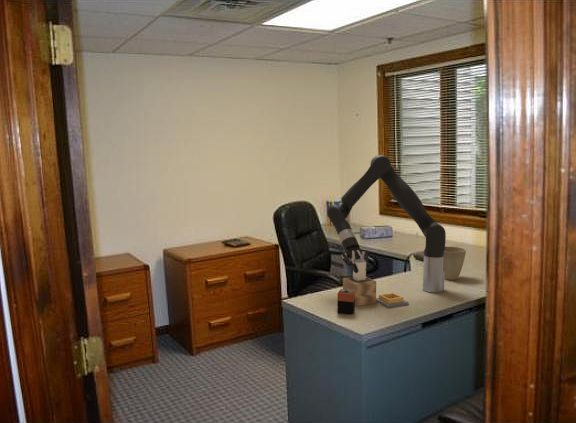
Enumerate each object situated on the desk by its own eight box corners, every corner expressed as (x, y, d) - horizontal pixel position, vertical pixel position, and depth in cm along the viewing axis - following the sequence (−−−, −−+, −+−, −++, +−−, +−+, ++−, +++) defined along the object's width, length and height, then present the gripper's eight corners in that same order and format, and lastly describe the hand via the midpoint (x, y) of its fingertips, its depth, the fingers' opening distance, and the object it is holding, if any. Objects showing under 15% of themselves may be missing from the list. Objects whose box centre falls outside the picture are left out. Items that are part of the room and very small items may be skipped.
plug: (360, 277, 225) (361, 258, 224) (365, 280, 221) (366, 260, 220) (353, 278, 223) (353, 259, 222) (357, 281, 220) (358, 261, 218)
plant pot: (452, 273, 271) (454, 245, 268) (470, 280, 257) (472, 250, 255) (429, 276, 266) (430, 247, 264) (446, 283, 252) (448, 252, 250)
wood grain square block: (363, 296, 231) (363, 274, 229) (375, 302, 221) (376, 280, 219) (342, 299, 226) (342, 276, 225) (354, 305, 216) (355, 282, 215)
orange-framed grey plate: (394, 298, 227) (394, 291, 227) (408, 304, 217) (408, 297, 217) (373, 300, 223) (374, 294, 223) (387, 308, 213) (387, 301, 213)
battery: (339, 310, 211) (339, 287, 210) (355, 311, 209) (355, 289, 207) (337, 313, 207) (337, 290, 205) (352, 315, 205) (353, 292, 203)
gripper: (337, 237, 224) (351, 269, 214) (364, 235, 229) (378, 265, 220) (332, 246, 229) (345, 277, 220) (358, 244, 235) (372, 274, 225)
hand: (361, 271), depth 220 cm, fingers closed on plug, 4 cm apart
